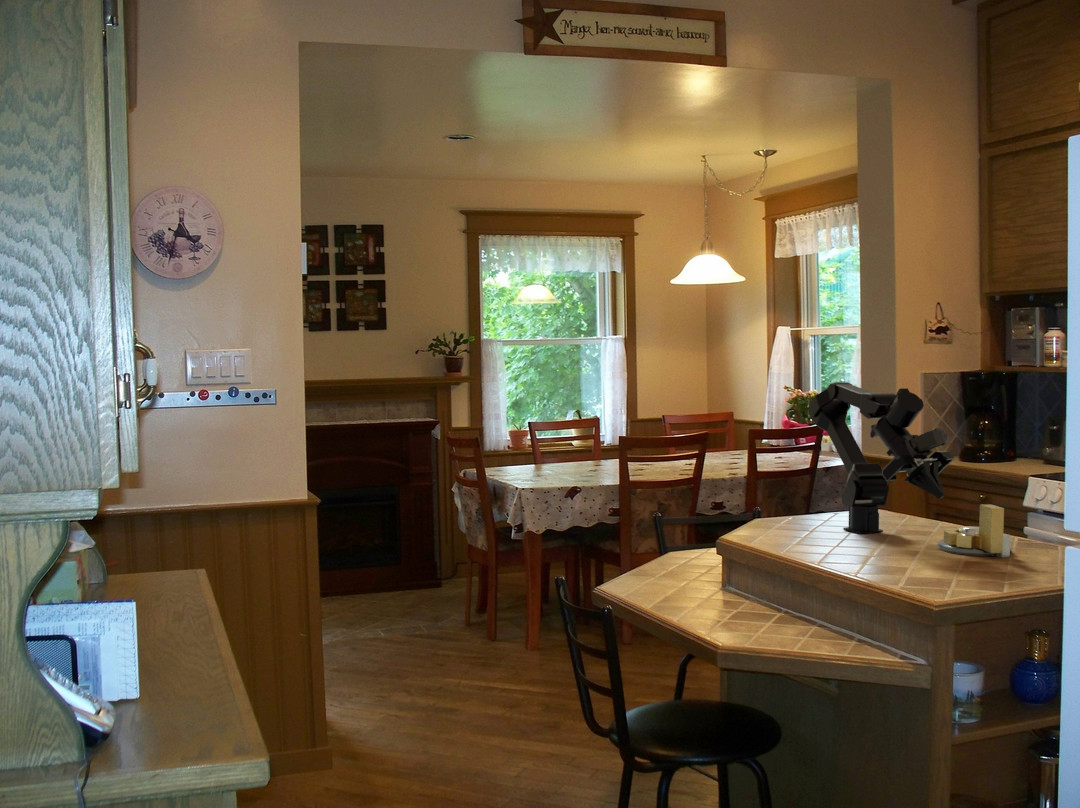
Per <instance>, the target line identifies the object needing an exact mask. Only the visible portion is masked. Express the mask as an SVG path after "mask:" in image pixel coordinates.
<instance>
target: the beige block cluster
mask: <svg viewBox="0 0 1080 808" xmlns="http://www.w3.org/2000/svg"><path fill="white" fill-rule="evenodd" d="M1004 520H1005V508H1004V507H1001V506H998V505H995V504H979V520H978V521H979V523H978V524H979V526H978V527H979V535H969V534H961V527H962V526H961V527H954V528H952V527H948V528H945V529H943V540H944V543H947V544H949V545H956V546H957V547H965V548H973V547H976V548H979V549H982V550H985V551H987V552H990V553H1003V534H1005V533H1004V529H1005V527H1004V526H1005V524H1004V523H1005V522H1004Z"/></svg>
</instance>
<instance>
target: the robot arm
mask: <svg viewBox="0 0 1080 808" xmlns="http://www.w3.org/2000/svg"><path fill="white" fill-rule="evenodd" d="M851 406H853V407H856V408H858V409H859V413H860V414H861V415H862V416H863V417H865V418H866V419H867V420H871V419H873V420H875V419H878V421H876V423H875V424H871V426H870V427H871V430H870V433H869V434H870V436H869V437H870V438H872V439H873V438H877V437H878V438H879V439H880V440H881V441H882V443H883V445H885V446H886V448H887V449H888V451H886V454H887V455H888V457H893V458H892V459H890V461H889V462H888V463H887V464H886V465H885V466H884V467H883V468H882V467H881V465H879V463H868V461H867V459H866V457H865V456H864V454H863V452H862V450H861V448H860V446H859V444H858V443H857V440H856V438H855V437H854V435H853V433H852V431H851V430H850V428H849V426H848V424H847V421H846V420H847V416H848V411H849V410H850V409H851ZM923 409H924V401H923V399H922V398H921V397H919V396H918V395H916V394H915V393H913V392H911V391H910V390H909V388H908V387H907V388H904V387H903V388H902V387H901V388H898V390H897V392H896V394H895V393H893V392H873V391H869V390H867V389H864V388H862V387H859V386H856V385H854V384H852V383H849V382H848V381H847V382H845V381H844V382H841V381H840V382H835V381H834V382H832V383H829V385H828V386H827V388H825V389H824V390H823V391H821V392H819V393H818V394H816V395H815V396H814V397H813V399H812V400H811V401H810V403H809V405H808V415H809V416H810V419H811V420H812V422H813V423H814V425H816V427H818V428H819V429H821V430H823V431H825V432H827V434H828V437H829V439H830V441H831V442H832V444H833V446H834V448H835V450H836V453H837V454H838V456H839V458H840V460H841V462H842V464H843V465H844V468H845V469H846V471H847V473H848V475H847V480H846V487H845V488H844V490H843V491H842V493H841V495H840V497H841V503H842V505H844V506H847V507H848V526H847V527H843V529H842V530H843V531H848V532H851V533H857V534H860V535H861V534H862V535H867V534H877V533H876V532H878V533H884V530H883V529H880V512H879V506H881V507H882V506H883V507H885V506H886V504H887V499H888V494H889V490H890V485H889V482H895V481H897V475H896V474H898V473H903V472H906V476H907V477H906V478H904V482H905V483H909V484H911V485H913V486H915V487H917V488H920V490H923V491H925V492H927V493H929V494H931V495H932V496H934V497H936V498H939V499H942V498H944V497H945V495H946V494H945V491H944V489H943V484H942V482H941V480H940V476H939V474H940V473H942V471H943V470H944V469H946V468H947V467H948V466H949V465H950V464H951V463H952V462H953V461H955V456H954V455H953V454H952V453H951V451H950V450H939V451H938V450H937V451H934V452H933V449H936V448H938V447H941V446H946V445H947V440H948V433H946V432H945V430H943V429H941V428H940V427H934V429H930V430H929V431H926V432H923V433H922V434H919V435H918V434H912V433H911V432H910V431H909V430H908V428H909V427H911V426H912V424H913V423H914V422H915V421H916V419H917V417H918V415H920V413H921V412H922V410H923ZM928 456H929V457H928Z"/></svg>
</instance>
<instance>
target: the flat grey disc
mask: <svg viewBox="0 0 1080 808" xmlns="http://www.w3.org/2000/svg"><path fill="white" fill-rule="evenodd" d="M961 534H969V535H979V526H970V525H967V526H961ZM937 549H938V550H940V551H943V552H946V553H951V554H955V555H960V556H961V555H963V556H969V557H970V556H972V557H999V558H1003V559H1004V558H1009V557H1010V555H1011V534H1007V533H1004V534H1003V553H990V552H987V551H985V550H982V549H979V548H976V547H973V548H965V547H957V546H956V545H949V544H947V543H944V539H940V540H939V541H937Z"/></svg>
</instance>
